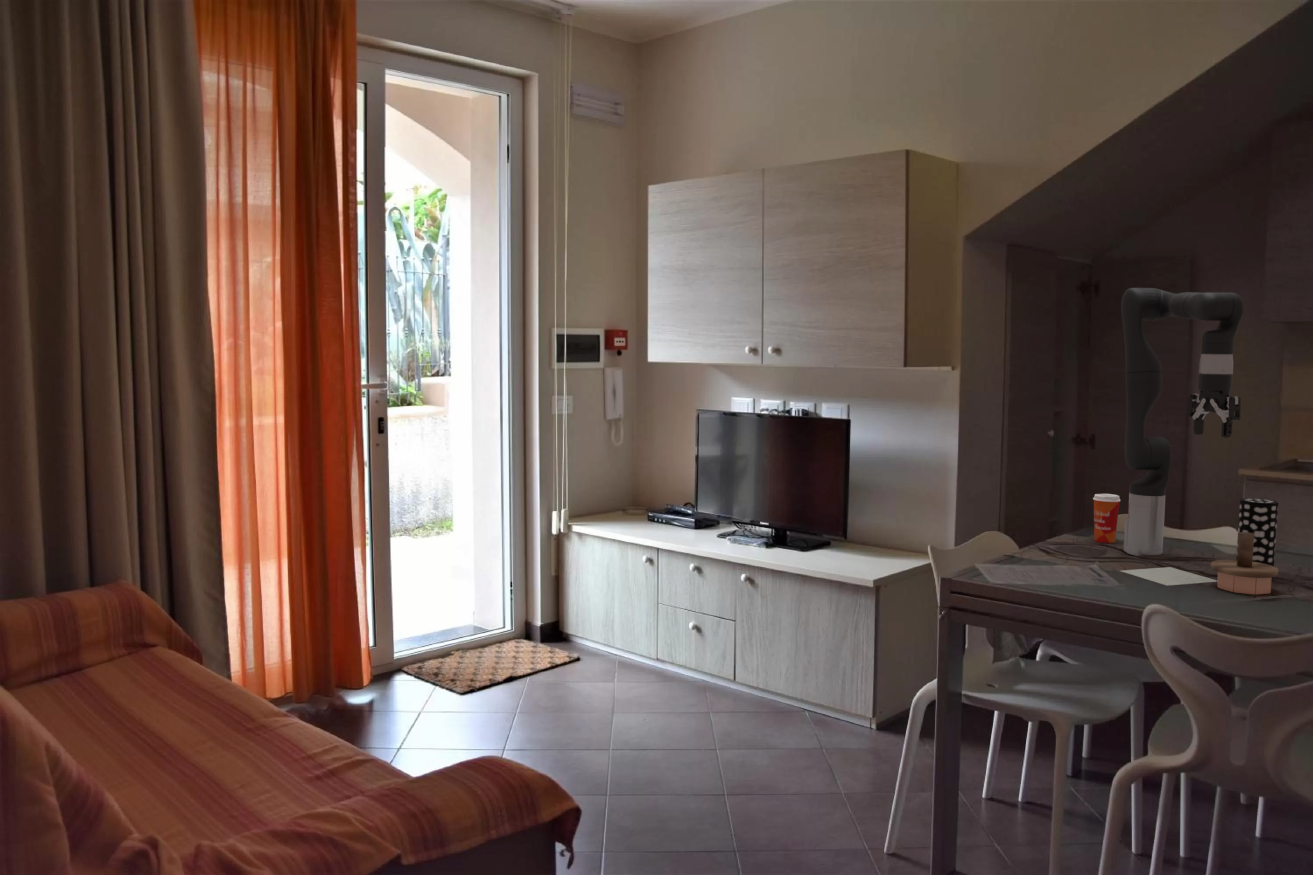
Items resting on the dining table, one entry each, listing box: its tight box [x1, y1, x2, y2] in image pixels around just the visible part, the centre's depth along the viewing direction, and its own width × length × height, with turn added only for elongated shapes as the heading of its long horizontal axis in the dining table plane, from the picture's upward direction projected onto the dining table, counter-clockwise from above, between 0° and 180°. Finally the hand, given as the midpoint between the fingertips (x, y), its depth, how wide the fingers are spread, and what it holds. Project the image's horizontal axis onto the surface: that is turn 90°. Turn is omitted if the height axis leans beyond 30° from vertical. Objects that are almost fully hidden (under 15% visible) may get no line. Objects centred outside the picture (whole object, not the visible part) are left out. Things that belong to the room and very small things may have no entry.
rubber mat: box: [1120, 566, 1218, 587], centre depth 254 cm, size 16×16×1 cm
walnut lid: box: [1210, 532, 1279, 578], centre depth 241 cm, size 14×14×9 cm
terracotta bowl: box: [1216, 572, 1273, 599], centre depth 241 cm, size 11×11×5 cm
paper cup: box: [1092, 493, 1121, 544], centre depth 300 cm, size 8×8×14 cm
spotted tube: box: [1235, 497, 1279, 581], centre depth 254 cm, size 8×8×20 cm
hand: (1211, 435), depth 254 cm, fingers open, 8 cm apart
